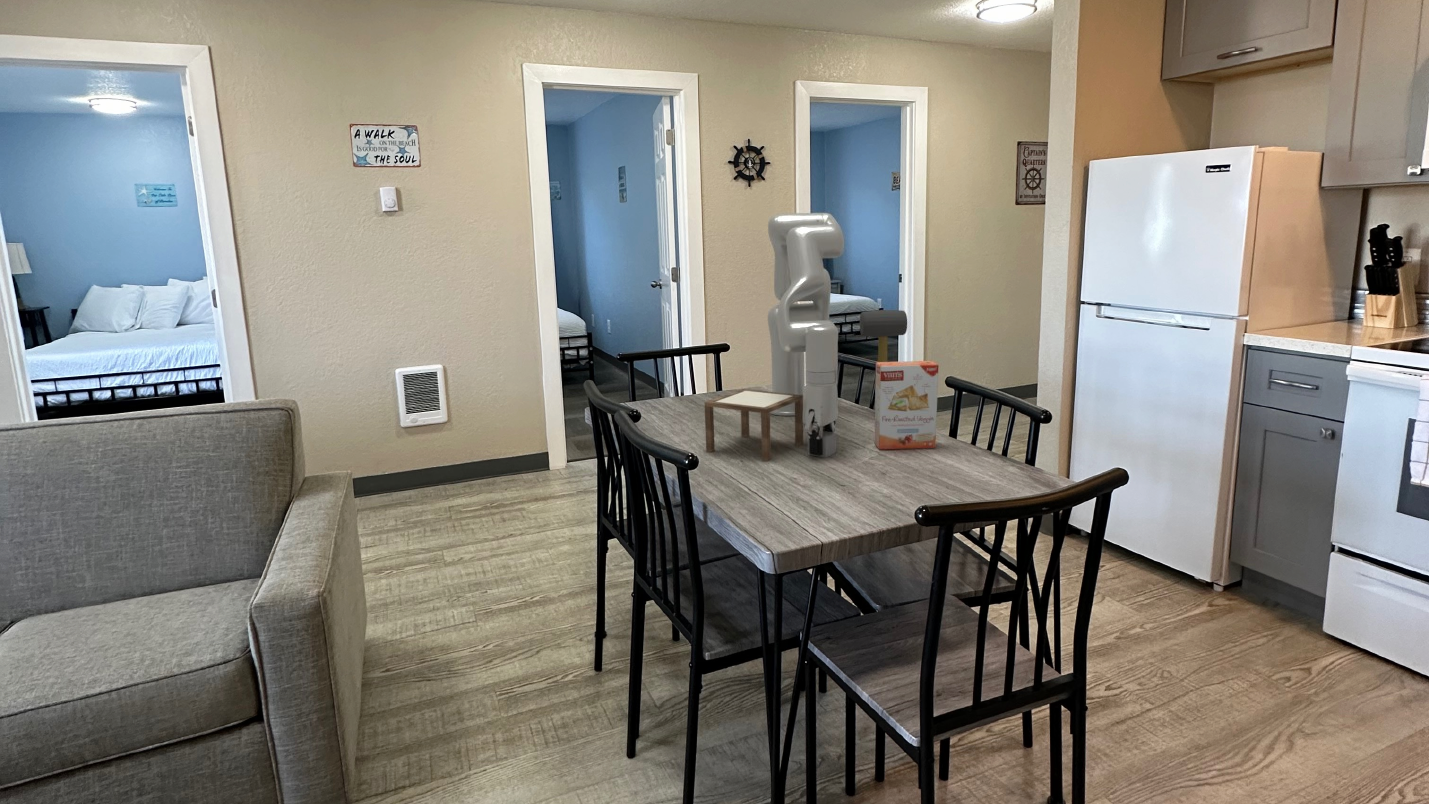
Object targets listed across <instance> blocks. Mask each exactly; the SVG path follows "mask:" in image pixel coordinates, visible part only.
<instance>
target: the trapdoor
mask: <svg viewBox="0 0 1429 804" xmlns="http://www.w3.org/2000/svg"><path fill="white" fill-rule="evenodd" d="M790 397H792V396H791V395H781V394H771V393H762V392H752V391H744V392H741V393H738V394H735V395H732V396H730V397H727V398H724V399H721V400H719V401H716V402H722V403H731V404H740V405H748V406H757V407H766V406H769V405H772V404H774V403H777V402H779V401H782V400H785V399H787V398H790Z"/></svg>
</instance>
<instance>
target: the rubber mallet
mask: <svg viewBox="0 0 1429 804" xmlns="http://www.w3.org/2000/svg"><path fill="white" fill-rule="evenodd" d="M859 330H860V335H861V336H862V337H869V338H871V337H872V338H873V337H874V338H875V337H878V345H877V347H878V348H877V349H878V350H877V351H878V352H877V362H888V337H895V336H904V335H906V333H907V330H908V315H907V313H906V311H905V310H901V309H900V310H898V309H897V310H896V309H880V310H878V309H877V310H867V311H862V312H861V313H860V316H859Z"/></svg>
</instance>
